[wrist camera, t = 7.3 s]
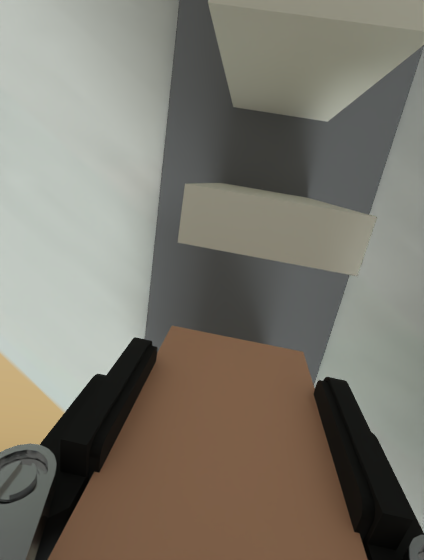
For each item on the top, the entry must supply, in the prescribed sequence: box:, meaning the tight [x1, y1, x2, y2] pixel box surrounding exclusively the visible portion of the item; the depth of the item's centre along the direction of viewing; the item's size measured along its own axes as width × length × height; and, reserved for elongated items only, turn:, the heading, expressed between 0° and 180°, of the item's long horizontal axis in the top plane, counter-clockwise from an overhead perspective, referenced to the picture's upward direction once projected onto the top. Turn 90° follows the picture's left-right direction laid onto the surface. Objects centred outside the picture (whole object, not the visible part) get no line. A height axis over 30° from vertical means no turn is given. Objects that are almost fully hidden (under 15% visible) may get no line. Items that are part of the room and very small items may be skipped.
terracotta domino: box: [48, 326, 368, 560], centre depth 7 cm, size 2×5×10 cm, turn 81°
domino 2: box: [178, 183, 377, 276], centre depth 13 cm, size 2×5×10 cm, turn 81°
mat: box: [145, 0, 424, 385], centre depth 19 cm, size 30×12×1 cm, turn 171°
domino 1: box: [208, 0, 424, 122], centre depth 11 cm, size 2×5×10 cm, turn 81°
